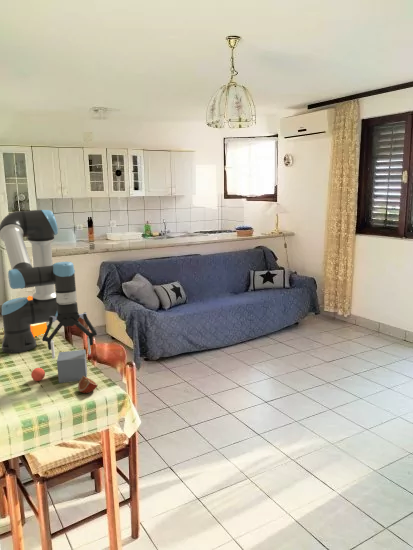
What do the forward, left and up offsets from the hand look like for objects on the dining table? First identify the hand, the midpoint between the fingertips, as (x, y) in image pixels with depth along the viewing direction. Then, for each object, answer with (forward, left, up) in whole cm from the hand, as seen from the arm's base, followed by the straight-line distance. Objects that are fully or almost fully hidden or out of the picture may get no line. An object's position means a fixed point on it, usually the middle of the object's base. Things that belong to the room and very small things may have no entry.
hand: (71, 355), depth 176 cm
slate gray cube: (0, 0, -9) cm, 9 cm away
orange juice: (-65, -22, -9) cm, 70 cm away
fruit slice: (+16, +6, -9) cm, 19 cm away
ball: (0, -13, -6) cm, 14 cm away
